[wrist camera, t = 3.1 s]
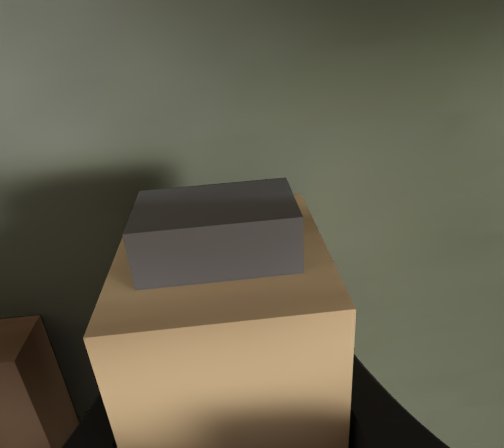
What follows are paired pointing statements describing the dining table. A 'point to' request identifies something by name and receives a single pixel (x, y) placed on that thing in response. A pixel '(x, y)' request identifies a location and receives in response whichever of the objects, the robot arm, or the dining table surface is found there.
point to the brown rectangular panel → (32, 388)
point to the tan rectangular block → (224, 323)
